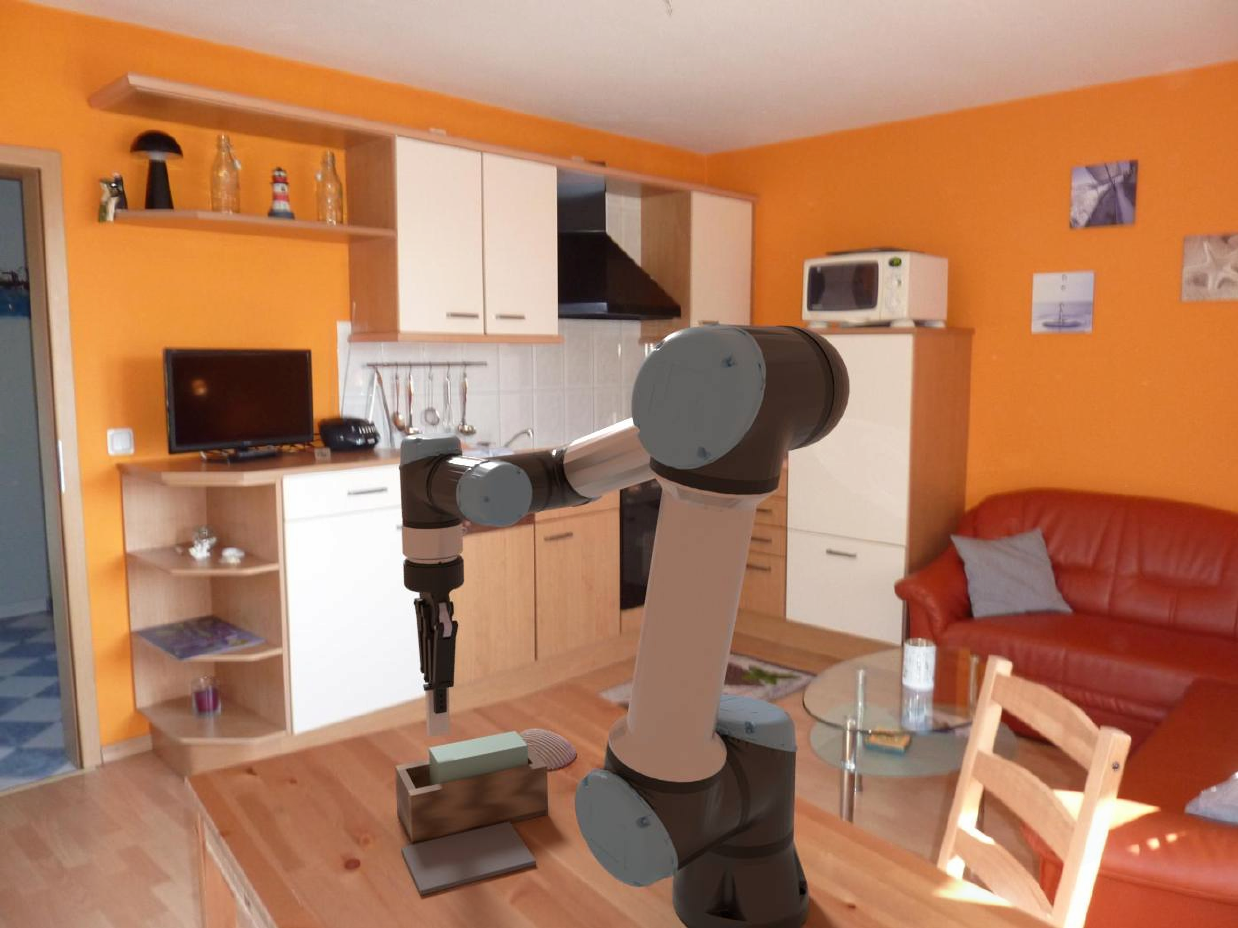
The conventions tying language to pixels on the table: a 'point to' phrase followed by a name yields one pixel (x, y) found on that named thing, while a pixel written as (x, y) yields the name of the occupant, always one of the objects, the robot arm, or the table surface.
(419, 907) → the table surface
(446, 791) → the frame
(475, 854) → the mat
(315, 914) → the table surface
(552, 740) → the seashell
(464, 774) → the part
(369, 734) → the table surface
